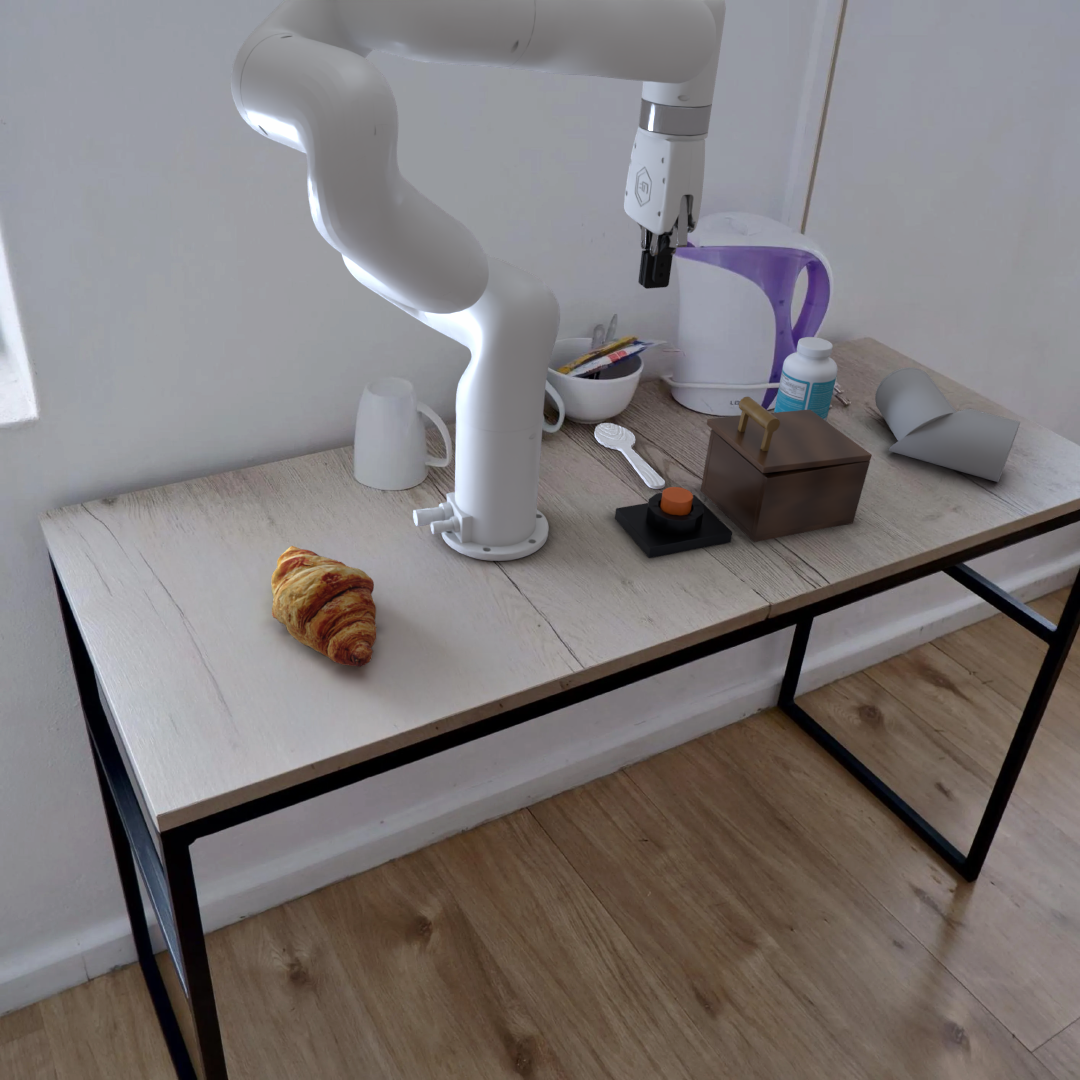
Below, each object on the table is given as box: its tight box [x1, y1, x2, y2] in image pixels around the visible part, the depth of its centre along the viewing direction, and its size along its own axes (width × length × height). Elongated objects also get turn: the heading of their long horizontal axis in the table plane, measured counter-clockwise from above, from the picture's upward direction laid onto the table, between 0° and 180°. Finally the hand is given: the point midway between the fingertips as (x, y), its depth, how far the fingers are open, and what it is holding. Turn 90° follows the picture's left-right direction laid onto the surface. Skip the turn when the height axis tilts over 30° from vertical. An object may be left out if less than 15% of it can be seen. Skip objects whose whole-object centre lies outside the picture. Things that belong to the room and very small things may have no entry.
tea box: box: [700, 429, 871, 543], centre depth 125 cm, size 15×13×9 cm
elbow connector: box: [874, 366, 1021, 483], centre depth 141 cm, size 18×11×20 cm
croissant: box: [270, 545, 377, 668], centre depth 102 cm, size 21×10×8 cm, turn 32°
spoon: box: [594, 422, 666, 490], centre depth 136 cm, size 5×18×1 cm, turn 21°
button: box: [660, 486, 694, 516], centre depth 119 cm, size 4×4×2 cm
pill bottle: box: [773, 336, 839, 421], centre depth 142 cm, size 8×7×14 cm
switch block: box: [614, 492, 733, 559], centre depth 120 cm, size 11×9×4 cm
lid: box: [706, 396, 873, 473], centre depth 121 cm, size 15×13×5 cm
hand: (653, 285), depth 118 cm, fingers closed
